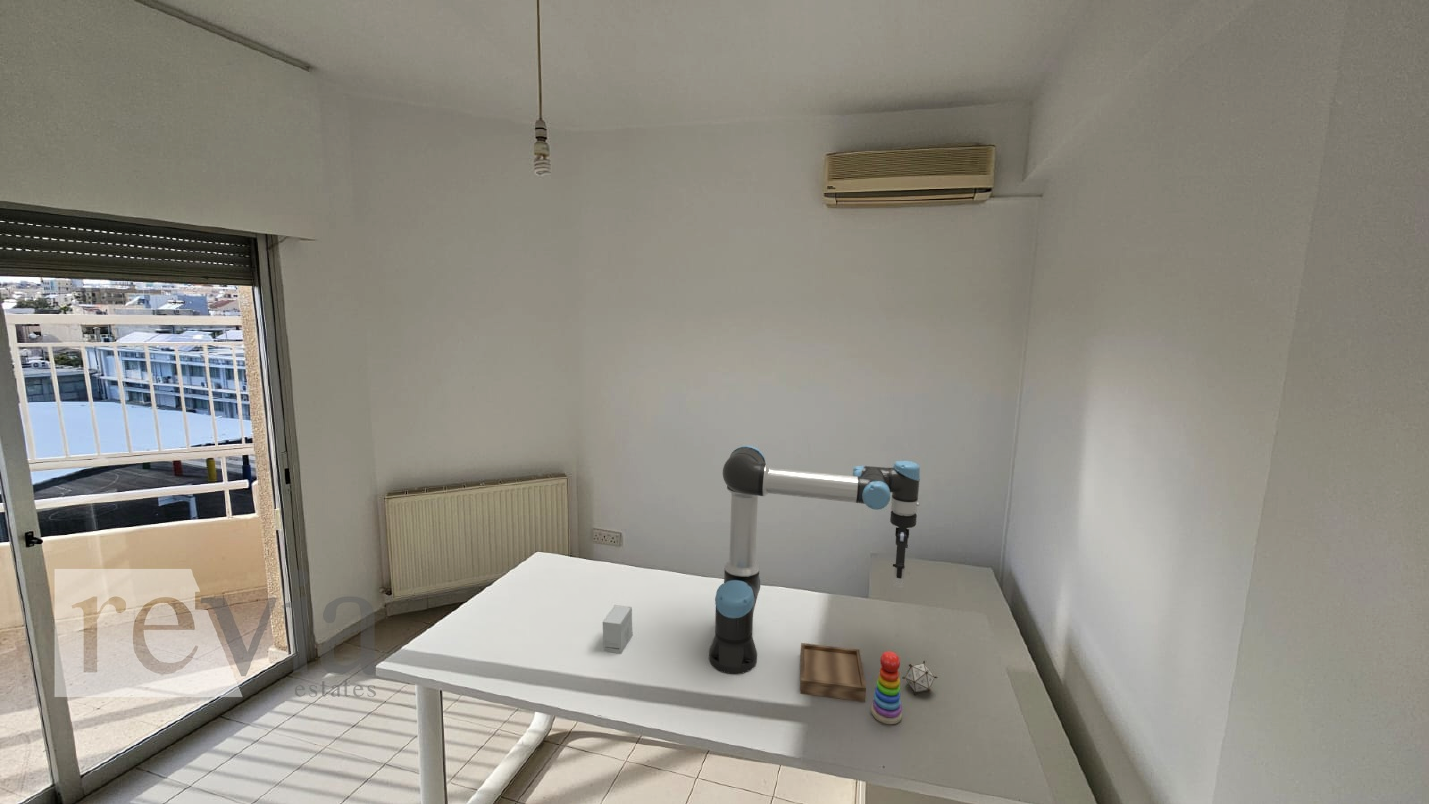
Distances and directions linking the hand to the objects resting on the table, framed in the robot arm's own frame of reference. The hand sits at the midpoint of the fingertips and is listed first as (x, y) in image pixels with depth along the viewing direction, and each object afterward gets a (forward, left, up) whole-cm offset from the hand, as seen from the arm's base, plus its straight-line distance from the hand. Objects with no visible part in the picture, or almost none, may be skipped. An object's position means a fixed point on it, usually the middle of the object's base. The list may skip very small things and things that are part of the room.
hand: (899, 576), depth 168 cm
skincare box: (-88, -10, -27) cm, 93 cm away
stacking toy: (-6, -27, -27) cm, 39 cm away
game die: (+5, -15, -27) cm, 32 cm away
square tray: (-20, -14, -27) cm, 37 cm away
